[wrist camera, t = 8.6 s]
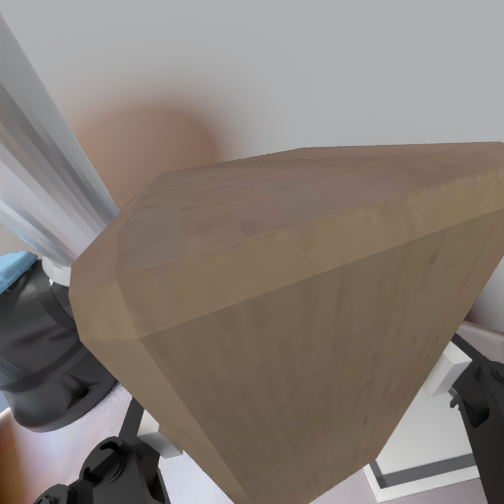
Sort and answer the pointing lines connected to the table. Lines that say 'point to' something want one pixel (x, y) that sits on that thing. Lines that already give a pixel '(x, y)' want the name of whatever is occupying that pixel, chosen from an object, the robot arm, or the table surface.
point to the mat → (423, 450)
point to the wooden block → (291, 302)
